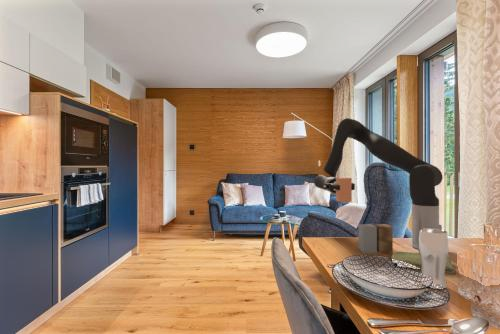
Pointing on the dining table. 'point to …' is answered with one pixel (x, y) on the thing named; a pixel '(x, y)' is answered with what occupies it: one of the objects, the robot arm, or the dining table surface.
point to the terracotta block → (344, 190)
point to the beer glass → (433, 253)
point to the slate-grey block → (367, 238)
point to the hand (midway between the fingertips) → (345, 187)
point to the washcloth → (415, 260)
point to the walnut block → (384, 238)
